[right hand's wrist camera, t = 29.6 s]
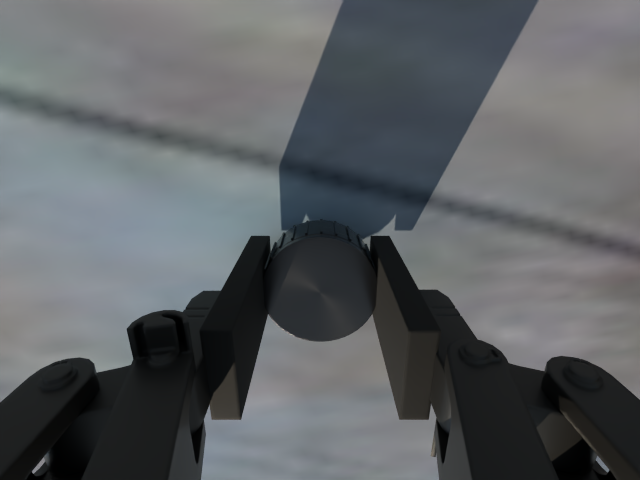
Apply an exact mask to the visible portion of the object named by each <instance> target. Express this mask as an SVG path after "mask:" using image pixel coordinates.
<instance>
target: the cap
mask: <svg viewBox="0 0 640 480" xmlns="http://www.w3.org/2000/svg"><path fill="white" fill-rule="evenodd" d="M264 271H265V272H264V275H263V290H264V305H265V308H266V310H267V312H268V314H269V316H270V317H271V318H272V320H273V321H274V322H275V323H276V324H277V325H278V326H279V327H280V328H281V329H283V330H284V331H286V332H287V333H289V334H291V335H293V336H295V337H298V338H301V339H304V340H309V341H332V340H336V339H340V338H343V337H345V336H347V335H350V334H351V333H353V332H355V331H356V330H358V329H359V328H360V327H361V326H363V325H364V323H365V322H366V321H367V320H368V319H369V318H370V316H371V315H372V313H373V311H374V309H375V307H376V297H377V281H378V278H377V274H376V269H375V267H374V264H373V261H372V257H371V254H370V252H369V249H368V246H367V244H365V243H364V242H363V241H362V239H361V238H360V235H359V234H356V233H355V232H353V231H352V230H351V229H349V227H348V226H347V227H346V226H344V225H341V224H339V223H336V221H334V222H331V221H324V220H322V219H320V220H317V221H306V222H305V223H302V224H299V225H297V226H296V225H294V226H293V228H291V229H290V230H288V231H287V232H286V233H283V234H282V236H281V237H280V239H279V240H278V241H277V242H275V243H274V245H273V248H272V251H271V253H270V254H269V257H268V260H267V262H266V265H265V268H264Z"/></svg>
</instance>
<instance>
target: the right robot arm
mask: <svg viewBox="0 0 640 480" xmlns="http://www.w3.org/2000/svg"><path fill="white" fill-rule="evenodd" d="M270 253H271V251H270V236H251V237H250V239H249V241H248V243H247V245H246V246H245V248H244V250H243V252H242V254H241V255H240V257H239V259H238V261H237V263H236V265H235V266H234V268H233V270H232V272H231V274H230V275H229V277H228V279H227V281H226V283H225V285H224V286H223V288H222V290H221V291H203V292H201V293H200V294H198V295H197V296H195V297H194V298H192V299H191V301H190V302H189V304H188V305H187V307H186V310H184V311H183V312H180V311H176V310H163V311H158V312H153V313H150V314H147V315H145V316H142V317H140V318H139V319H137V320H136V321H134V322H132V323H131V325H130V326H129V327H128V328H127V333H128V337H129V342H130V346H131V350H132V355H133V362H132V364H131V365H129V366H125V367H122V368H117V369H112V370H108V371H103V372H98V373H96V369H95V366H94V363H93V362H91V361H90V360H89V359H85V358H71V359H65V360H61V361H57V362H54V363H52V364H50V365H48V366H46V367H44V368H42V369H40V370H39V371H37V372H36V373H34V374H33V375H32V376H30V377H29V378H28V379H27V380H25V381H24V382H23V383H22V384H21V385H20V386H19V387H17V388H16V389H15V390H14V391H13V392H12V393H11V394H10V395H8V396H7V397H6V398H5V399H4V400H3V401H2V402H0V480H201V473H202V464H203V455H204V446H205V437H206V432H205V425H204V417H205V415H206V412H207V409H208V407H209V404H210V410H211V417H212V420H241V417H242V413H243V410H244V406H245V402H246V398H247V394H248V390H249V386H250V382H251V378H252V374H253V370H254V367H255V363H256V359H257V355H258V351H259V347H260V343H261V339H262V335H263V331H264V327H265V323H266V320H267V316H268V312H267V310H266V308H265V305H264V290H263V275H264V272H265V271H264V268H265V265H266V262H267V260H268V257H269V254H270ZM370 254H371V257H372V261H373V264H374V267H375V269H376V274H377V278H378V281H377V297H376V307H375V309H374V311H373V313H372V314H373V318H374V322H375V326H376V330H377V334H378V338H379V341H380V345H381V349H382V353H383V357H384V361H385V365H386V369H387V373H388V377H389V381H390V384H391V388H392V392H393V396H394V400H395V404H396V408H397V412H398V416H399V420H429V413H430V406H431V404H432V406H433V409H434V412H435V414H436V417H437V418H436V425H435V431H434V438H433V445H432V451H431V456H433V457H436V454H437V463H438V472H439V480H640V400H639V399H638V398H637V397H636V396H635V395H634V394H632V393H631V392H630V391H629V390H628V389H627V388H626V387H624V386H623V385H622V384H621V383H620V382H619V381H618V380H616V379H615V378H614V377H613V376H612V375H610V374H609V373H607V372H606V371H605V370H603V369H602V368H600V367H598V366H596V365H594V364H592V363H590V362H588V361H585V360H582V359H579V358H574V357H565V356H559V357H554V358H551V359H550V360H549V361H548V362H547V364H546V368H545V371H540V370H535V369H530V368H526V367H521V366H517V365H513V364H510V363H508V361H507V359H506V357H505V356H504V355H503V353H502V352H501V351H500V350H498V349H497V348H496V347H494V346H493V345H491V344H488V343H486V342H484V341H481V340H477V338H476V337H475V335H474V334H473V332H472V331H471V329H470V328H469V326H468V325H467V324H466V322H465V321H464V319H463V318H462V316H460V313H459V312H458V310H457V309H455V306H454V305H453V303H452V302H451V300H450V299H449V297H447V296H446V295H444V294H443V293H441V292H440V291H438V290H419V289H418V287H417V286H416V284H415V282H414V280H413V278H412V277H411V275H410V273H409V271H408V269H407V267H406V266H405V264H404V262H403V260H402V258H401V257H400V255H399V253H398V251H397V249H396V247H395V246H394V244H393V242H392V240H391V238H390V236H371V240H370ZM597 455H598V456H599V458H600V459H601V460H602V461H603V462H604V464H605V465H606V466H607V467H608V468H609V472H608V473H607V472H606V471H605V470H604V469H603V468H602V467H601V466H600V465H599V464H598V462H597V461H596V458H597ZM43 457H44V459H45V463H44V464H43V465H42V466H41V467H40V469H38V470H37V471H36V472H35V473H34V474H33V473H32V470H33V469H34V468H35V467H36V466H37V464H38V463H39V462H40V461H41V460H42V458H43Z"/></svg>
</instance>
